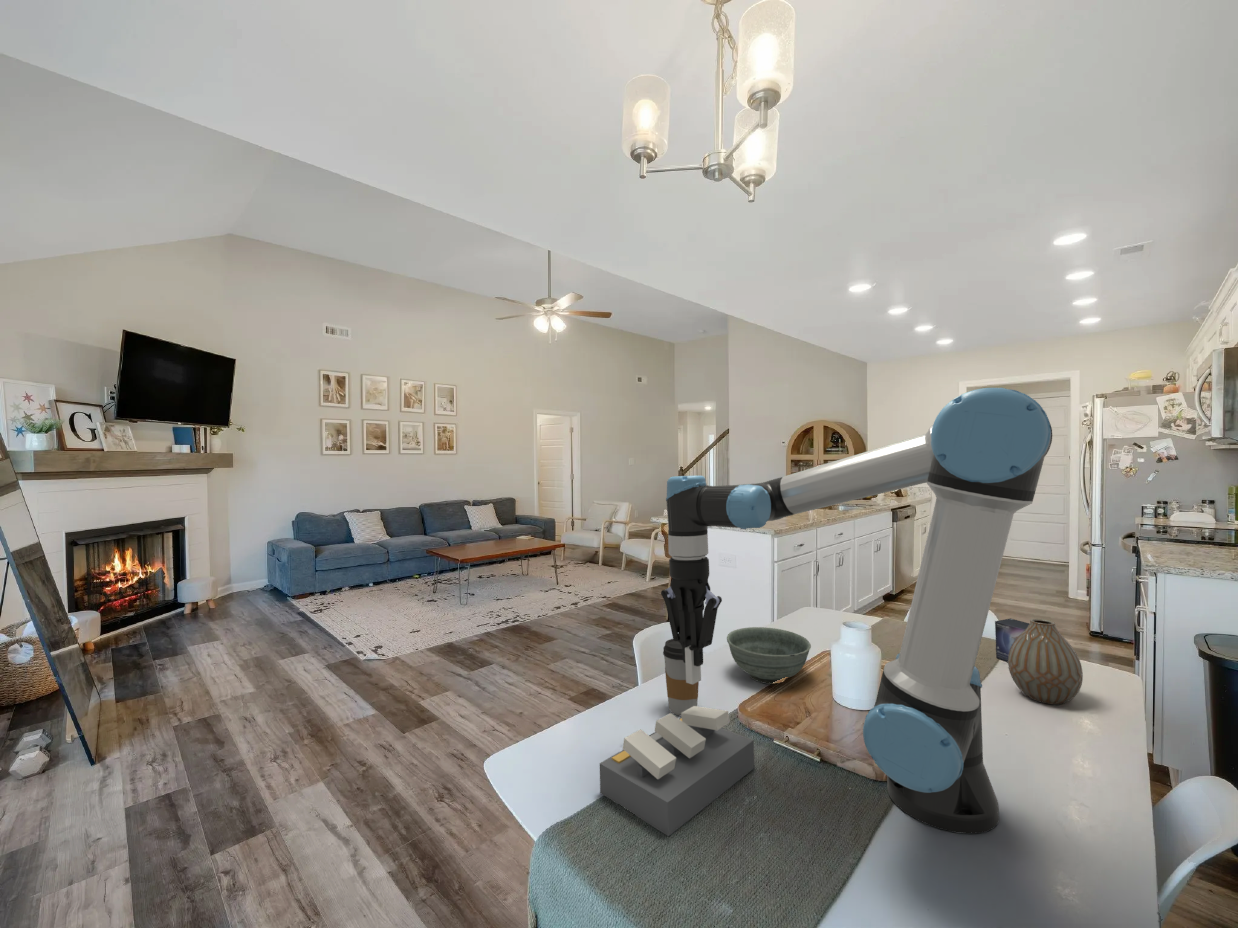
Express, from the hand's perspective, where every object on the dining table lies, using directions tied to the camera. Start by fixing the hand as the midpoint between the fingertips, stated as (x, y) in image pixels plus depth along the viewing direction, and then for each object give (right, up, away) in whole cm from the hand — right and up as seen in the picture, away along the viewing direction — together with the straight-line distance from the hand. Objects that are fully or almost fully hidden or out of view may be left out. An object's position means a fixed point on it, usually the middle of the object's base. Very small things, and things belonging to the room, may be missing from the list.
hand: (693, 681), depth 98 cm
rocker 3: (+2, -7, -2) cm, 8 cm away
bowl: (+24, -14, +35) cm, 45 cm away
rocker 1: (-9, -7, -13) cm, 18 cm away
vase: (+83, -12, +20) cm, 86 cm away
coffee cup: (0, -14, +19) cm, 24 cm away
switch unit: (-4, -14, -8) cm, 16 cm away
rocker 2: (-4, -7, -8) cm, 11 cm away
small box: (+94, -12, +40) cm, 103 cm away
